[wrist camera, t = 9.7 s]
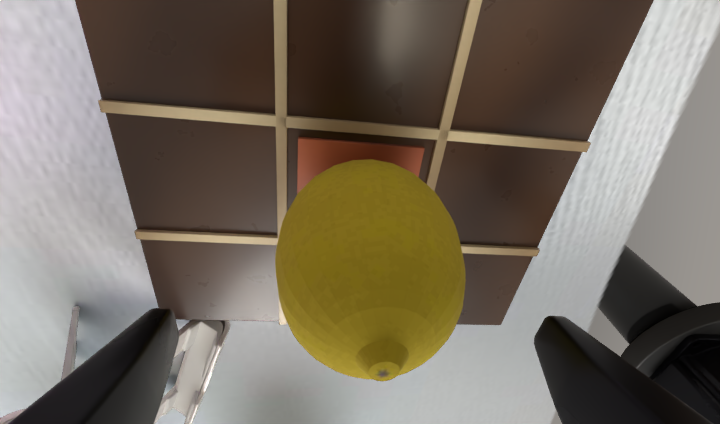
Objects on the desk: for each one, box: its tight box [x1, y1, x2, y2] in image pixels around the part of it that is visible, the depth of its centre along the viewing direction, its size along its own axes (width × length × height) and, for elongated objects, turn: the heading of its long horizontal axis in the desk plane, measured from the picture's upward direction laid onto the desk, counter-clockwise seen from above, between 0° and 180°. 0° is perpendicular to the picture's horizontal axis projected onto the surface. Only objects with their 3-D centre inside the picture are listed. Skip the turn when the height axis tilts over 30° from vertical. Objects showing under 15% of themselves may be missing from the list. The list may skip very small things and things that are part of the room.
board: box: [75, 0, 653, 325], centre depth 15 cm, size 18×16×2 cm
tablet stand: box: [0, 306, 230, 424], centre depth 17 cm, size 9×8×8 cm
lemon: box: [275, 159, 466, 381], centre depth 11 cm, size 6×6×8 cm
